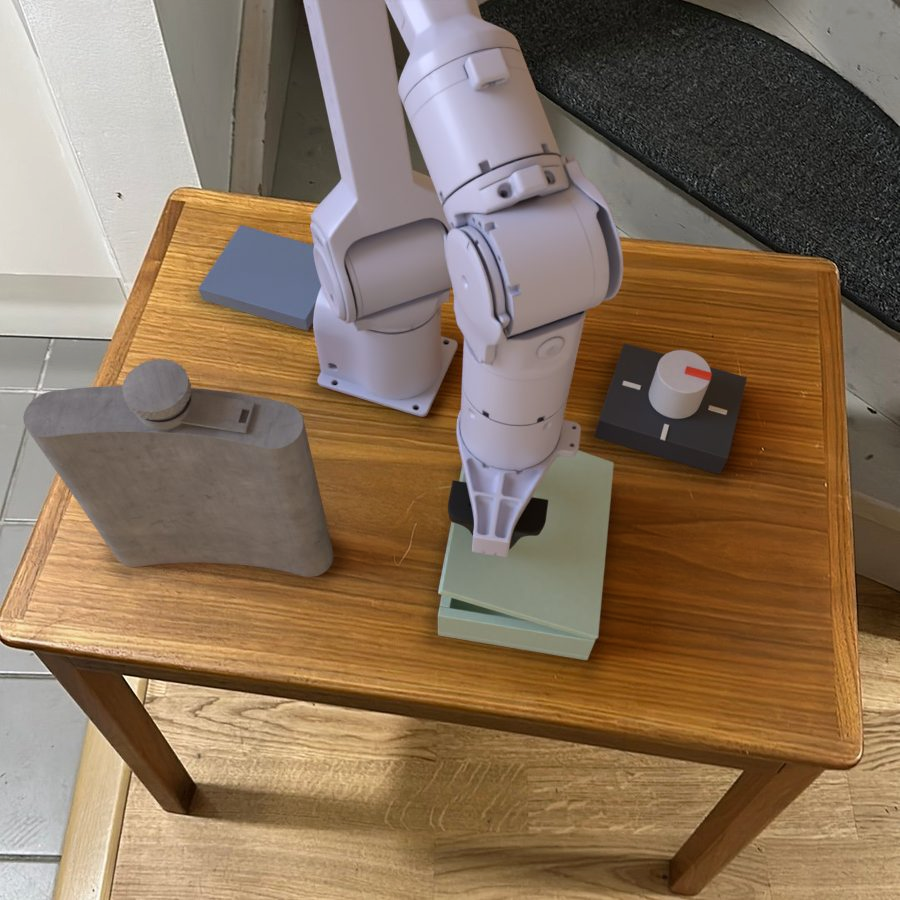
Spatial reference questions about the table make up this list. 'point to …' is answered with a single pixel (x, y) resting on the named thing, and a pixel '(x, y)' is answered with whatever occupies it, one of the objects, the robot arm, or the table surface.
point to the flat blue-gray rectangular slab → (265, 278)
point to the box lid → (544, 554)
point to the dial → (679, 384)
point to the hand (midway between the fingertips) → (500, 503)
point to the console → (648, 431)
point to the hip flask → (187, 471)
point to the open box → (506, 630)
